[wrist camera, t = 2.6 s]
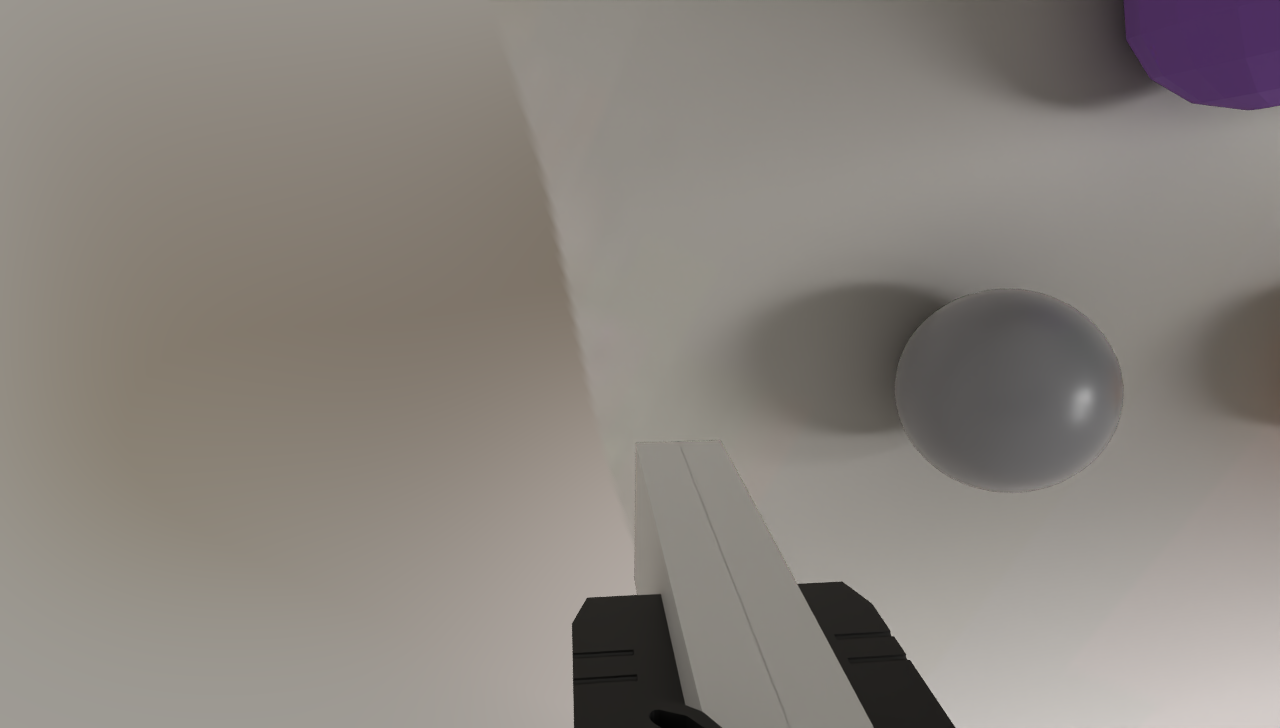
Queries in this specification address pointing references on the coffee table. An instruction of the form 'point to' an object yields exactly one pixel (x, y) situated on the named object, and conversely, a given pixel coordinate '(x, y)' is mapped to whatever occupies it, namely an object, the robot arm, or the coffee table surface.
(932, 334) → the gray ball
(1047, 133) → the coffee table surface
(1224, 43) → the kendama
